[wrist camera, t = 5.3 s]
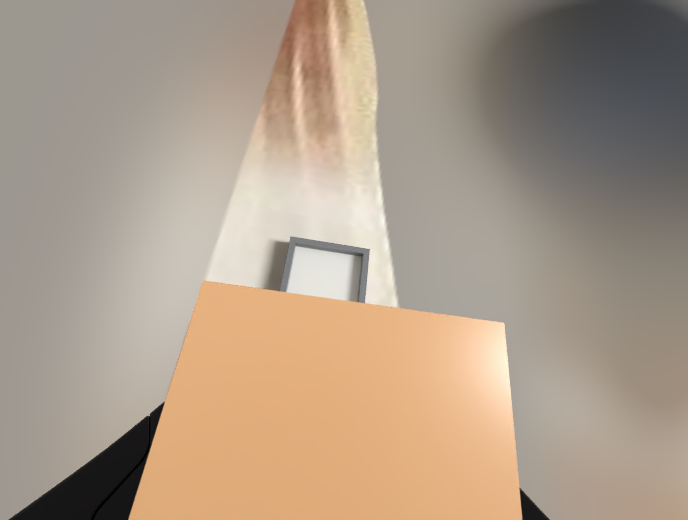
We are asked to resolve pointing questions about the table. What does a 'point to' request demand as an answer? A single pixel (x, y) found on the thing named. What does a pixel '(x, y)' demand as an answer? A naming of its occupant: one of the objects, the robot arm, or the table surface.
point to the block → (332, 415)
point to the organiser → (325, 270)
